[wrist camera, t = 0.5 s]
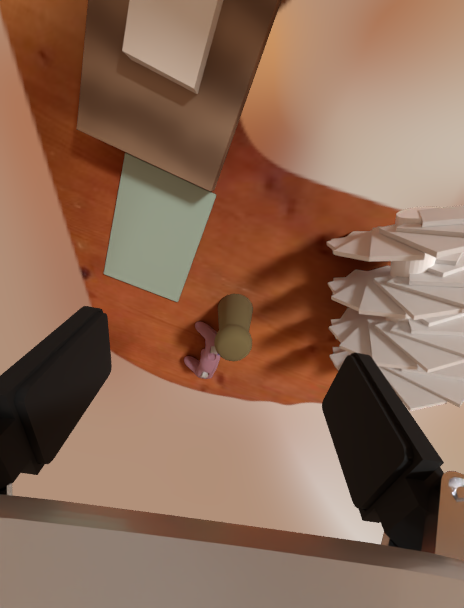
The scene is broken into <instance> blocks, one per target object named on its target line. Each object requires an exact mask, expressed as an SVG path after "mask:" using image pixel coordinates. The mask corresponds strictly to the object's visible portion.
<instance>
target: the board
mask: <svg viewBox="0 0 464 608" xmlns="http://www.w3.org/2000/svg"><path fill="white" fill-rule="evenodd" d="M129 1H130V0H88V9H87V20H86V31H85V42H84V53H83V64H82V75H81V86H80V97H79V108H78V120H77V130H79V131H81V132H84V133H86V134H88V135H90V136H92V137H94V138H97V139H99V140H101V141H103V142H105V143H107V144H109V145H112V146H114V147H116V148H118V149H120V150H122V151H125V152H127V153H129V154H131V155H133V156H135V157H137V158H140V159H142V160H144V161H146V162H148V163H150V164H153V165H155V166H157V167H159V168H161V169H163V170H165V171H168V172H170V173H172V174H174V175H176V176H178V177H181V178H183V179H185V180H187V181H189V182H191V183H193V184H196V185H198V186H200V187H202V188H204V189H206V190H209V191H213V190H214V189H215V187H216V184H217V181H218V178H219V175H220V172H221V170H222V167H223V164H224V161H225V158H226V155H227V153H228V150H229V147H230V144H231V141H232V138H233V136H234V133H235V130H236V127H237V124H238V121H239V119H240V116H241V113H242V110H243V107H244V104H245V102H246V99H247V96H248V93H249V90H250V87H251V85H252V82H253V79H254V76H255V73H256V70H257V68H258V64H259V62H260V59H261V56H262V54H263V50H264V48H265V45H266V42H267V39H268V37H269V33H270V31H271V28H272V25H273V22H274V20H275V17H276V14H277V11H278V8H279V5H280V3H281V0H223V4H222V7H221V11H220V15H219V18H218V22H217V26H216V29H215V33H214V36H213V40H212V44H211V47H210V51H209V55H208V58H207V62H206V66H205V69H204V73H203V77H202V80H201V84H200V87H199V91H198V94H196V93H194V92H192V91H190V90H188V89H186V88H184V87H182V86H180V85H178V84H177V83H175V82H173V81H171V80H169V79H167V78H165V77H163V76H161V75H159V74H157V73H156V72H154V71H152V70H150V69H148V68H146V67H144V66H142V65H140V64H138V63H136V62H135V61H133V60H131V59H130V58H129V57H128V56H127V55H126V54H125V53H124V52H123V51H122V48H123V42H124V35H125V28H126V21H127V14H128V8H129Z"/></svg>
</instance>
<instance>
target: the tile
mask: <svg viewBox="0 0 464 608" xmlns="http://www.w3.org/2000/svg"><path fill="white" fill-rule="evenodd" d="M222 4H223V0H130V1H129V8H128V14H127V21H126V28H125V35H124V42H123V48H122V51H123V52H124V53H125V54H126V55H127V56H128V57H129V58H130V59H131V60H133V61H135V62H136V63H138V64H140V65H142V66H144V67H146V68H148V69H150V70H152V71H154V72H156V73H157V74H159V75H161V76H163V77H165V78H167V79H169V80H171V81H173V82H175V83H177V84H178V85H180V86H182V87H184V88H186V89H188V90H190V91H192V92H194V93H196V94H198V91H199V87H200V84H201V80H202V77H203V73H204V69H205V66H206V62H207V58H208V55H209V51H210V47H211V44H212V40H213V36H214V33H215V29H216V26H217V22H218V18H219V15H220V11H221V7H222Z"/></svg>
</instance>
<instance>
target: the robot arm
mask: <svg viewBox="0 0 464 608" xmlns="http://www.w3.org/2000/svg"><path fill="white" fill-rule="evenodd" d="M110 372H111V354H110V342H109V330H108V319H107V314H105V313H103V311H102V309H100V308H94V307H88V306H84V307H82V308H81V309H80V310H78V311H77V312H76V313H75V314H74V315H72V316H71V317H70V318H69V319H68V320H66V321H65V322H64V323H63V324H62V325H61V326H59V327H58V328H57V329H56V330H54V331H53V332H52V333H51V334H50V335H48V336H47V337H46V338H45V339H44V340H43V341H41V342H40V343H39V344H38V345H37V346H35V347H34V348H33V349H32V350H31V351H29V352H28V353H27V354H26V355H25V356H23V357H22V358H21V359H20V360H19V361H17V362H16V363H15V364H14V365H13V366H11V367H10V368H9V369H8V370H7V371H5V372H4V373H3V374H2V375H1V376H0V608H464V474H461V473H458V472H456V471H447V472H446V473H443V471H442V470H441V468H440V466H441V465H442V464H443V463H444V462H443V461H442V459H441V458H440V456H439V455H438V453H437V452H436V451H435V449H434V448H433V446H432V445H431V443H430V442H429V440H428V439H427V437H426V436H425V434H424V433H423V432H422V430H421V429H420V427H419V426H418V424H417V423H416V421H415V420H414V418H413V417H412V416H411V414H410V413H409V411H408V410H407V408H406V407H405V405H404V404H403V402H402V401H401V399H400V398H399V396H398V395H397V394H396V392H395V391H394V389H393V388H392V386H391V385H390V383H389V382H388V380H387V379H386V377H385V376H384V375H383V373H382V372H381V370H380V369H379V367H378V366H377V364H376V363H375V361H374V360H373V358H372V357H371V356H370V355H367V354H361V353H355V352H354V353H352V354H351V355H348V356H346V358H345V360H344V362H343V364H342V365H341V367H340V369H339V371H338V373H337V375H336V377H335V379H334V381H333V383H332V384H331V386H330V388H329V390H328V392H327V394H326V396H325V398H324V400H323V403H322V409H323V413H324V416H325V419H326V422H327V425H328V428H329V431H330V434H331V437H332V440H333V443H334V446H335V449H336V452H337V455H338V458H339V462H340V465H341V468H342V470H343V474H344V477H345V480H346V483H347V486H348V489H349V492H350V495H351V498H352V501H353V503H354V505H355V506H356V507H357V508H359V511H360V514H361V517H362V520H364V521H370V522H377V523H379V522H381V524H382V527H383V529H384V534H383V538H382V542H381V545H379V544H373V543H366V542H360V541H352V540H345V539H338V538H331V537H324V536H317V535H310V534H302V533H296V532H289V531H282V530H275V529H267V528H260V527H253V526H245V525H238V524H231V523H223V522H215V521H209V520H201V519H194V518H186V517H179V516H172V515H165V514H157V513H149V512H141V511H133V510H126V509H118V508H110V507H103V506H96V505H88V504H80V503H73V502H65V501H56V500H47V499H38V498H29V497H20V496H12V483H13V482H14V481H15V479H16V478H17V477H18V475H19V474H20V473H27V474H34V475H38V473H39V472H40V470H41V469H42V467H43V466H44V464H49V463H50V462H51V461H52V460H53V459H54V458H55V456H56V454H57V453H58V452H59V450H60V448H61V447H62V445H63V444H64V442H65V441H66V440H67V438H68V436H69V435H70V433H71V432H72V430H73V429H74V427H75V426H76V424H77V423H78V421H79V420H80V418H81V417H82V415H83V414H84V412H85V411H86V409H87V408H88V406H89V405H90V403H91V402H92V400H93V399H94V397H95V396H96V394H97V393H98V391H99V390H100V388H101V387H102V385H103V384H104V382H105V381H106V379H107V378H108V376H109V374H110Z"/></svg>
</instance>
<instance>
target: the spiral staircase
mask: <svg viewBox="0 0 464 608" xmlns="http://www.w3.org/2000/svg"><path fill="white" fill-rule="evenodd" d="M327 246H328V247H330V248H331V249H332V251H333V254H334V255H337V256H342V257H347V258H352V259H358V260H363V261H368V262H370V261H391V267H390V266H384V267H381V268H377V269H374V270H370V271H363V270H357V269H355V270H354V271H353V272H351V273H350V274H349V275H348V276H346V277H339V278H333V281H332V282H328V286H329V288H330V289H331V291H332V292H333V296H331V300H333V301H336V302H338V303H340V304H343V305H345V306H347V307H349V308H347V309H346V311H345V312H344V314H343V315H342V317H341V318H340V319H331V324H332V326H329V330H330V331H331V332H332V333H333V334H334V336H335V339H338V340H339V341H340V343H341V344H340V345H339V347H333V354H331V355H329V356H330V359H331V360H332V362H333V364H334V365H335V367H336V369H337V370H338V371H339V369H340V367H341V365H342V364H343V362H344V360H345V358H346V356H348V355H351V354H352V353H354V352H355V353H361V354H367V355H370V356H371V357H372V358H373V360H374V361H375V363H376V364H377V366H378V367H379V369H380V370H381V372H382V373H383V375H384V376H385V377H386V379H387V380H388V382H389V383H390V385H391V386H392V388H393V389H394V391H395V392H396V394H397V395H398V396H399V398H400V399H401V401H402V402H403V403H404V404H405V405H406V407H407V408H408V409H409V410H410V411H412V410H418V409H423V408H428V407H433V406H437V405H442V404H446V403H447V401H448V402H450V403H452V404H454V405H455V406H458V407H460V406H461V405H462V403H463V402H464V205H463V206H453V207H443V208H441V207H433V206H426V207H415V208H409V209H405V210H402V211H399V212H398V213H397V214H396V222H395V225H391V226H386V227H377V228H373V230H371V231H369V232H361V231H353V232H352V233H351V234H349V235H348V236H347V237H343V238H335V239H331V241H327ZM351 308H352V309H351Z"/></svg>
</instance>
